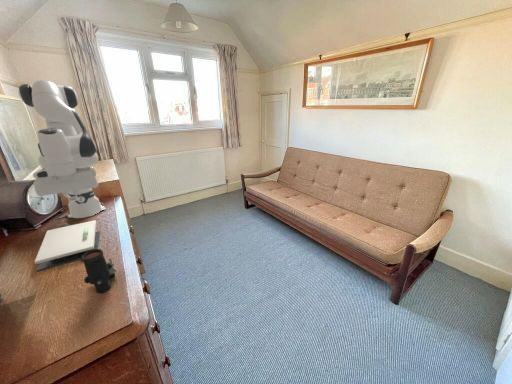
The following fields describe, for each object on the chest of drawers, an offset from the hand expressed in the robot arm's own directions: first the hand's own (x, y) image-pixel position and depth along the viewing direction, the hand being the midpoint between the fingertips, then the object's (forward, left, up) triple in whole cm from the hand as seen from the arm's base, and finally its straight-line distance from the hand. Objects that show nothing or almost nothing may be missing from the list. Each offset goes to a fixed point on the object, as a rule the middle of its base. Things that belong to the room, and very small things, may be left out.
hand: (73, 200), depth 92 cm
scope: (+38, +8, -21) cm, 44 cm away
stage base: (+3, -5, -21) cm, 22 cm away
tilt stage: (+3, -5, -16) cm, 17 cm away
